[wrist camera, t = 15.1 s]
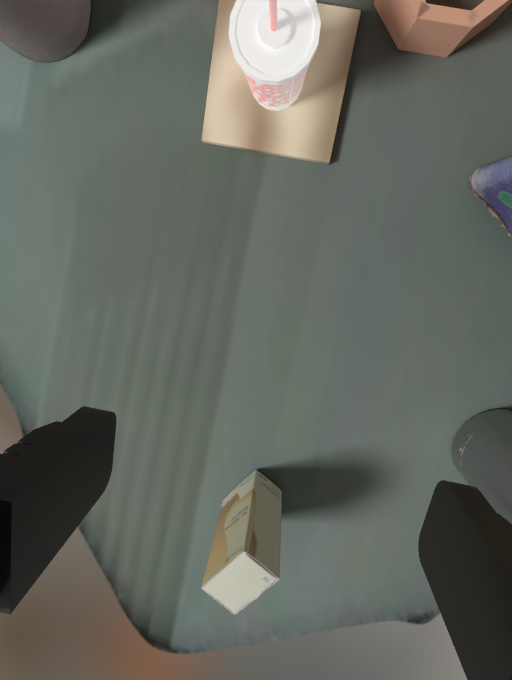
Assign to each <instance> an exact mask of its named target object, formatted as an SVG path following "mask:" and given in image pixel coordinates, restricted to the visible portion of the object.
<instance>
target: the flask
mask: <svg viewBox="0 0 512 680" xmlns="http://www.w3.org/2000/svg"><path fill="white" fill-rule="evenodd" d="M469 180H470V186H471V188H472V190H473V192H474V194H475V196H476V197H480V198H481V199H482V201H483V202H484V203H485V205H486V206H487V207H486V208H487V209H488V210H489V213H490V214H492V216H493V217H496V218H498V219H500V221H501V222H502V225H501V226H503V227H505V228H506V229H507V230H508V233H509V235H508V236H510V237H511V238H512V156H511V157H508V158H506V159H503V160H501V161H497V162H495V163H492V164H489V165H485V166H481V167H480V168H478V169H477V170H475V171H474V172H473V174H472V175H471V177H470V179H469Z"/></svg>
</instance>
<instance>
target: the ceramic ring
mask: <svg viewBox="0 0 512 680" xmlns="http://www.w3.org/2000/svg"><path fill="white" fill-rule="evenodd" d="M511 2H512V0H485V1H483V2H482V3H481V4H479V5H478V6H477V7H476V8H474V9H473V10H472V11H471V10H465V9H458V8H452V7H446V6H440V5H434V4H428V3H426V1H425V0H374V6H375V8H376V10H377V12H378V14H379V15H380V17H381V19H382V21H383V23H384V24H385V26H386V28H387V30H388V32H389V33H390V35H391V37H392V39H393V41H394V42H395V44H396V46H397V48H398V50H404V51H409V52H415V53H421V54H427V55H433V56H439V57H445V58H446V57H447V56H449V55H450V54H451V53H453V52H454V51H455V50H457V49H458V48H459V47H461V46H462V45H463V44H465V43H466V42H467V41H469V40H470V39H471V38H473V37H474V36H475V35H477V34H478V33H479V32H481V31H482V30H483V29H485V28H486V27H487V26H489V25H490V24H491V23H492V22H493V21H494V20H495V19H496V18H497V17H498V16H499V15H500V14H501V13H502V12H503V11H504V10H505V9H506V8H507V7H508V6H509V5H510V3H511Z"/></svg>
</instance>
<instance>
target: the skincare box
mask: <svg viewBox="0 0 512 680" xmlns="http://www.w3.org/2000/svg"><path fill="white" fill-rule="evenodd" d="M281 509H282V491H281V490H280V489H279V488H278V487H277V486H276V485H275V484H273V483H272V482H271V481H270V480H269V479H268V478H266V477H265V476H264V475H263V474H261V473H260V472H259V471H257V470H255V471H254V472H253V473H252V474H250V475H249V476H248V477H247V478H246V479H245V480H243V481H242V482H241V483H240V484H239V485H238V486H237V487H236V488H235V489H234V490H233V491H232V492H231V493H230V494H229V495H228V496H227V497H226V498H225V499H224V500H223V503H222V507H221V511H220V515H219V519H218V523H217V527H216V531H215V536H214V540H213V544H212V548H211V552H210V556H209V560H208V564H207V568H206V572H205V576H204V580H203V584H202V589H203V590H204V591H205V592H207V593H208V594H209V595H210V596H211V597H213V598H214V599H215V600H216V601H217V602H219V603H220V604H221V605H222V606H224V607H225V608H226V609H227V610H229V611H230V612H231V613H232V614H237V613H238V612H239V611H241V610H242V609H243V608H244V607H246V606H247V605H248V604H249V603H251V602H252V601H254V600H255V599H256V598H258V597H259V596H260V595H261V594H262V593H263V592H264V591H266V590H267V589H268V588H269V587H271V586H272V585H273V584H274V583H276V582H277V581H278V580H279V572H280V540H281Z"/></svg>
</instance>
